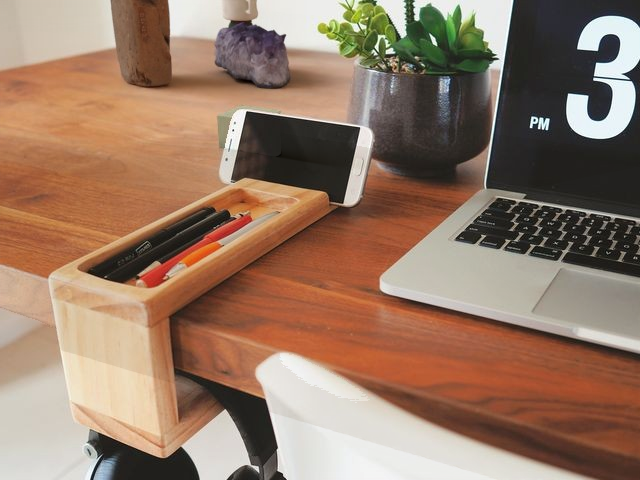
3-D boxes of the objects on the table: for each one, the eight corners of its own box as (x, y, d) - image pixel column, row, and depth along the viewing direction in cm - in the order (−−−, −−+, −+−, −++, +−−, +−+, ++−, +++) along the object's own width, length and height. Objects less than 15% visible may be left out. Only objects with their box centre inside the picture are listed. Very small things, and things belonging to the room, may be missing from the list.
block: (117, 78, 126) (100, -48, 116) (159, 74, 129) (146, -48, 120) (137, 90, 118) (121, -43, 109) (181, 86, 121) (169, -44, 112)
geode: (315, 85, 125) (308, 26, 119) (253, 100, 120) (243, 39, 115) (267, 59, 140) (260, 6, 135) (211, 72, 135) (201, 17, 130)
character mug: (269, 55, 148) (267, -13, 142) (238, 58, 144) (234, -12, 139) (246, 47, 156) (243, -18, 150) (215, 49, 152) (211, -17, 146)
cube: (219, 160, 87) (216, 115, 84) (243, 148, 91) (241, 105, 89) (259, 167, 85) (257, 121, 83) (282, 154, 90) (280, 110, 87)
